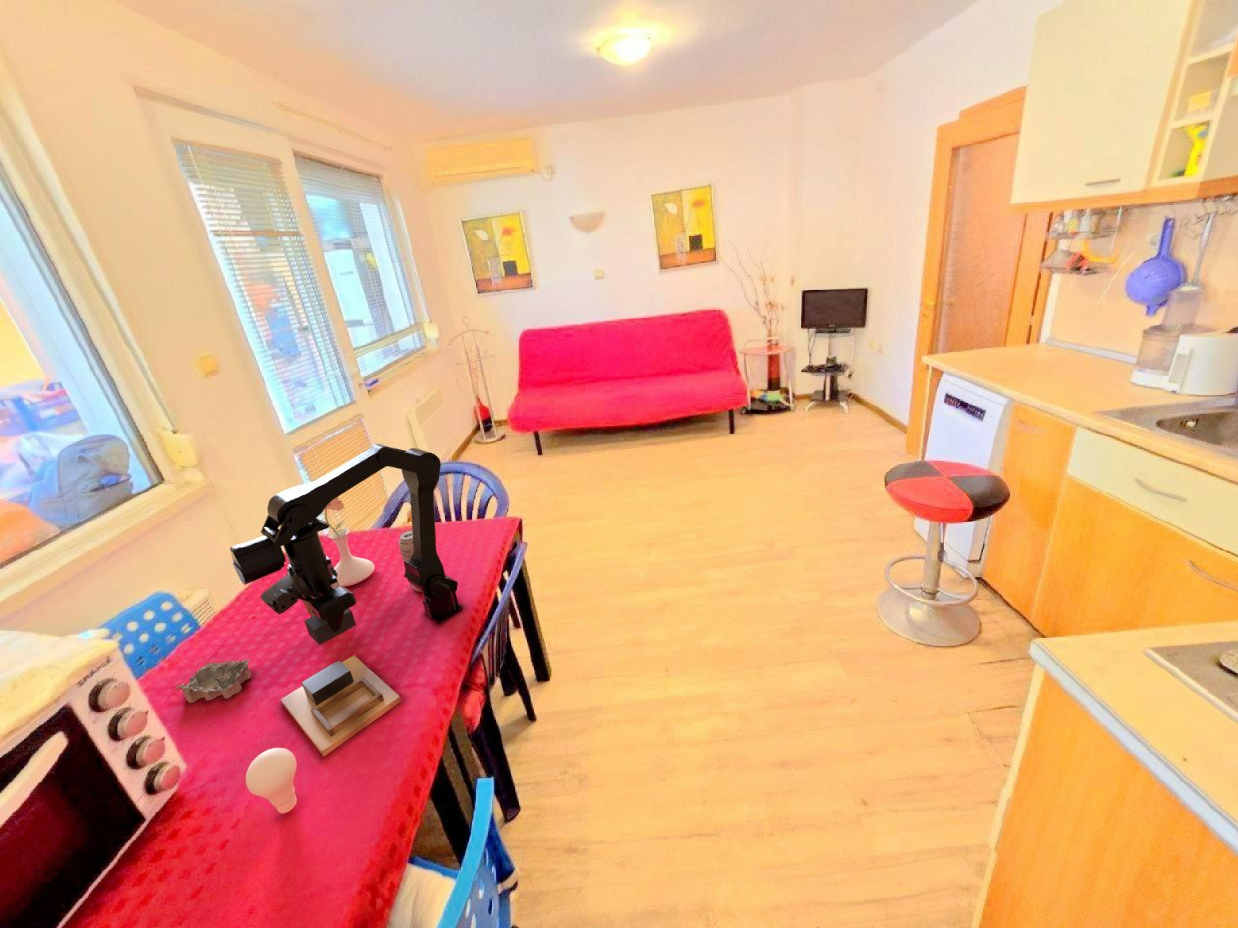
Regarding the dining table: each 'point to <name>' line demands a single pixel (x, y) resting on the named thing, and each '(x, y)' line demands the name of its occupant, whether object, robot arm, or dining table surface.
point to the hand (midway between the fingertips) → (331, 625)
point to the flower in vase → (347, 553)
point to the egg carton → (216, 680)
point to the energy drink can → (407, 549)
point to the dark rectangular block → (328, 627)
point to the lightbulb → (274, 778)
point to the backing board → (339, 703)
